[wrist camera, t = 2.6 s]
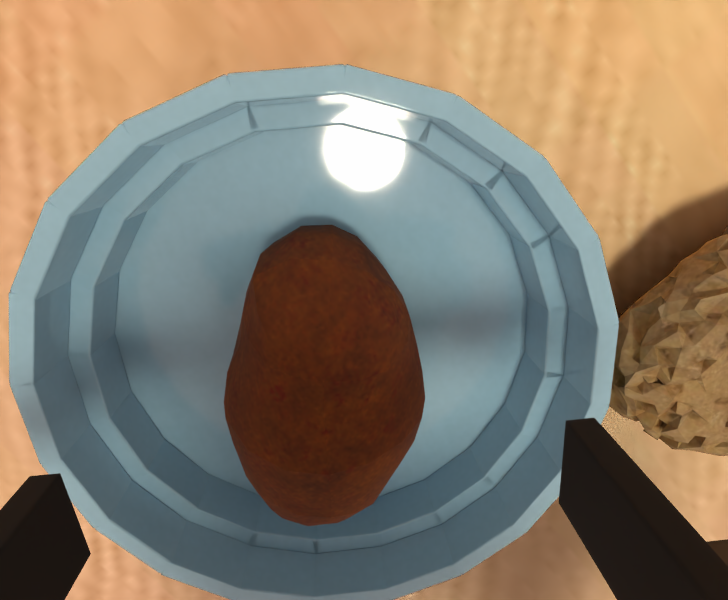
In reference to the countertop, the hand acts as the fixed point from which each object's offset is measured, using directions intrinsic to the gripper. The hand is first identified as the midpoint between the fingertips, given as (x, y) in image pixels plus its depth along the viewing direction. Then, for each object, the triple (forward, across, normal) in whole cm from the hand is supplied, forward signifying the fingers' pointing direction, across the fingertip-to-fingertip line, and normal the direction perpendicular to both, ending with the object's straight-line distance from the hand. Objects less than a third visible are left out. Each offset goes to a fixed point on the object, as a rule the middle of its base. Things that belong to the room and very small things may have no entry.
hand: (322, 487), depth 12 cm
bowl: (+10, 0, 0) cm, 10 cm away
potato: (+10, 0, 0) cm, 10 cm away
